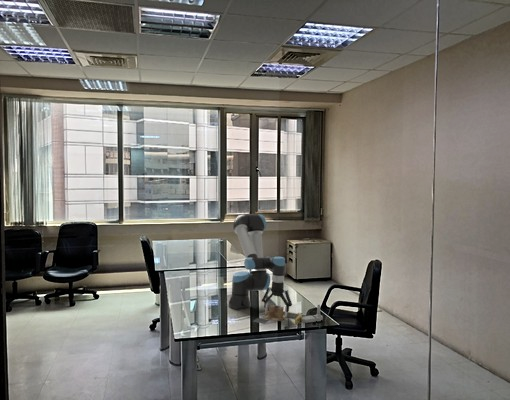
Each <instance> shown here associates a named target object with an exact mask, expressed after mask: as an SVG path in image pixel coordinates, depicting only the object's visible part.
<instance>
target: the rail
mask: <svg viewBox="0 0 510 400" xmlns="http://www.w3.org/2000/svg"><path fill="white" fill-rule="evenodd" d="M283 315H285V310H283ZM301 317H303V314H302V313H298V312H297V313H296V312H291V311H288V312H287V317H286V318H290V319H294V325H299V324H300V322H301Z"/></svg>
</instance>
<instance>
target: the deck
mask: <svg viewBox="0 0 510 400" xmlns="http://www.w3.org/2000/svg"><path fill="white" fill-rule="evenodd" d="M285 318H286V317H285V315H283V317H282V318H281V319H279V318H274V317H269V311H268V313H266V314H265V315H263V316H262V319H267V320H273V321H277V322H282V321H283V320H284V319H285Z"/></svg>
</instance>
